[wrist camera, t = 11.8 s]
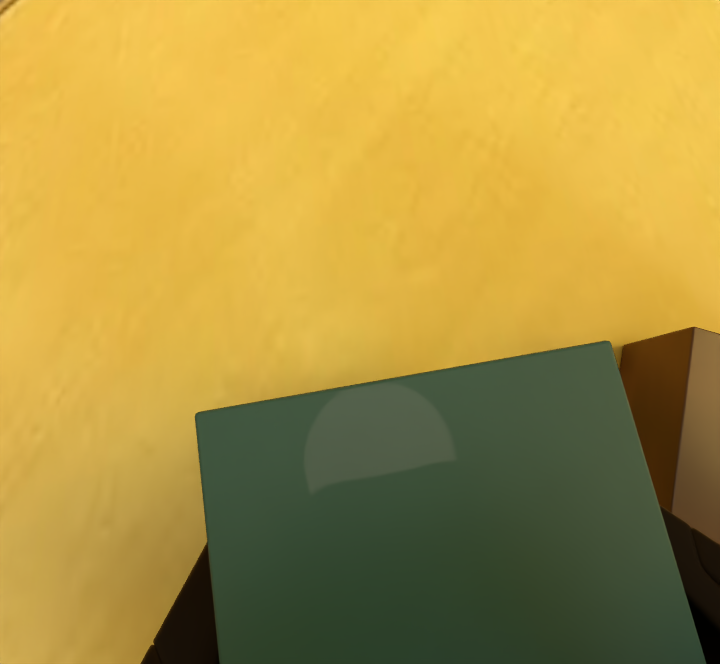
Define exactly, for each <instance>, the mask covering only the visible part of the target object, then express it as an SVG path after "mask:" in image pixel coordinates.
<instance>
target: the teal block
mask: <svg viewBox="0 0 720 664" xmlns="http://www.w3.org/2000/svg"><path fill="white" fill-rule="evenodd" d="M195 423H196V433H197V443H198V453H199V463H200V473H201V483H202V493H203V503H204V513H205V523H206V533H207V543H208V553H209V563H210V573H211V583H212V593H213V603H214V613H215V623H216V633H217V643H218V653H219V662H220V664H706V661H705V657H704V654H703V651H702V647H701V644H700V640H699V637H698V634H697V630H696V627H695V624H694V620H693V617H692V614H691V610H690V607H689V604H688V600H687V597H686V593H685V590H684V587H683V583H682V580H681V577H680V573H679V570H678V567H677V563H676V560H675V556H674V553H673V550H672V546H671V543H670V540H669V536H668V533H667V530H666V526H665V523H664V520H663V516H662V513H661V509H660V506H659V503H658V499H657V496H656V493H655V489H654V486H653V483H652V479H651V476H650V473H649V469H648V466H647V462H646V459H645V456H644V452H643V449H642V446H641V442H640V439H639V436H638V432H637V429H636V425H635V422H634V419H633V415H632V412H631V409H630V405H629V402H628V399H627V395H626V392H625V389H624V385H623V382H622V378H621V375H620V372H619V368H618V365H617V362H616V358H615V355H614V352H613V348H612V345H611V343H610V341H601V342H595V343H590V344H584V345H578V346H572V347H567V348H561V349H555V350H550V351H544V352H538V353H533V354H527V355H521V356H515V357H510V358H504V359H498V360H493V361H487V362H481V363H475V364H470V365H464V366H458V367H453V368H447V369H441V370H435V371H430V372H424V373H418V374H413V375H407V376H401V377H395V378H390V379H384V380H378V381H373V382H367V383H361V384H355V385H350V386H344V387H338V388H333V389H327V390H321V391H316V392H310V393H304V394H298V395H293V396H287V397H281V398H276V399H270V400H264V401H258V402H253V403H247V404H241V405H236V406H230V407H224V408H218V409H213V410H207V411H201V412H198V413H196V415H195Z"/></svg>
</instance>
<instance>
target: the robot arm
mask: <svg viewBox="0 0 720 664" xmlns="http://www.w3.org/2000/svg"><path fill="white" fill-rule="evenodd" d="M659 506H660V509H661V513H662V516H663V520H664V523H665V526H666V530H667V533H668V536H669V540H670V543H671V546H672V550H673V553H674V556H675V560H676V563H677V567H678V570H679V573H680V577H681V580H682V583H683V587H684V590H685V593H686V597H687V600H688V604H689V607H690V610H691V614H692V617H693V620H694V624H695V627H696V630H697V634H698V637H699V640H700V644H701V647H702V651H703V654H704V657H705V661H706V664H720V544H719V543H717V542H716V541H714V540H712V539H711V538H709V537H708V536H706V535H705V534H703V533H702V532H700V531H699V530H697V529H696V528H691V527H690V525H689V524H688V523H686V522H685V521H683V520H682V519H680V518H679V517H677V516H676V515H674V514H673V513H671V512H670V511H668V510H667V509H665V508H664V507H662V506H661V505H659ZM153 642H154V645H151V646H150V647H149V649H148V651H147V653H146V655H145V657H144V658H143V660H142V662H141V664H220V662H219V653H218V643H217V633H216V623H215V613H214V603H213V593H212V583H211V573H210V563H209V553H208V543H206V545H205V547H204V549H203V551H202V553H201V554H200V556H199V558H198V560H197V562H196V564H195V565H194V567H193V569H192V571H191V573H190V575H189V576H188V578H187V580H186V582H185V584H184V585H183V587H182V589H181V591H180V593H179V595H178V596H177V598H176V600H175V602H174V604H173V606H172V607H171V609H170V611H169V613H168V615H167V617H166V618H165V620H164V622H163V624H162V626H161V628H160V629H159V631H158V633H157V635H156V637H155V639H154V641H153Z"/></svg>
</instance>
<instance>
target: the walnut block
mask: <svg viewBox="0 0 720 664" xmlns="http://www.w3.org/2000/svg"><path fill="white" fill-rule="evenodd" d="M620 375H621V378H622V382H623V385H624V389H625V392H626V395H627V399H628V402H629V405H630V409H631V412H632V415H633V419H634V422H635V425H636V429H637V432H638V436H639V439H640V442H641V446H642V449H643V452H644V456H645V459H646V462H647V466H648V469H649V473H650V476H651V479H652V483H653V486H654V489H655V493H656V496H657V499H658V503H659V505H661V506H662V507H664V508H665V509H667V510H668V511H670V512H671V513H673V514H674V515H676V516H677V517H679V518H680V519H682V520H683V521H685V522H686V523H688V524H689V525H690V527H691V528H696V529H697V530H699V531H700V532H702V533H703V534H705V535H706V536H708V537H709V538H711V539H712V540H714V541H716V542H717V543H719V544H720V334H718V333H714V332H711V331H707V330H704V329H700V328H697V327H690V328H687V329H683V330H679V331H675V332H672V333H668V334H664V335H660V336H656V337H653V338H649V339H645V340H641V341H637V342H634V343H630V344H626V345H624V346H623V353H622V359H621V365H620Z"/></svg>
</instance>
